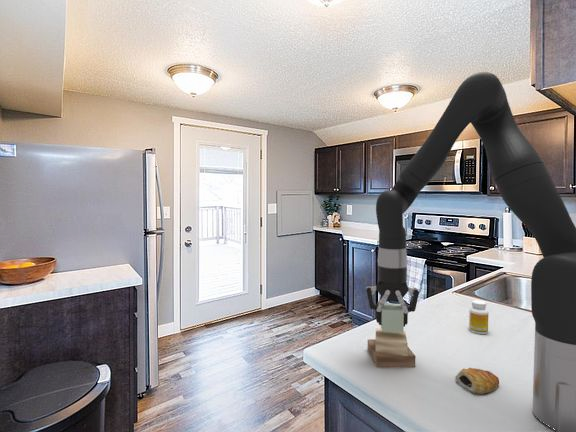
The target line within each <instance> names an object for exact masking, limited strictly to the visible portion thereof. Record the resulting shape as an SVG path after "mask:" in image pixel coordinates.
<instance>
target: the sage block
mask: <svg viewBox="0 0 576 432" xmlns="http://www.w3.org/2000/svg"><path fill="white" fill-rule="evenodd" d="M381 312H382V324H381V325H380V328H381V329H382V332H394V333H403V331H405V329H404V311H403V309H402V307H401V305H400V303H386V302H385V304H384V306H383V308H382V310H381Z"/></svg>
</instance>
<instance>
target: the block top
mask: <svg viewBox="0 0 576 432" xmlns="http://www.w3.org/2000/svg"><path fill="white" fill-rule="evenodd" d="M375 339H376V353H384V354H393V355H401V356H407V349H408V347H409V346H408V344H409V343H408V340H407V335H406V330H404V331H403V333H394V332H382V329H381V327H380V328H379V327H375Z"/></svg>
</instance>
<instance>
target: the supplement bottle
mask: <svg viewBox="0 0 576 432" xmlns="http://www.w3.org/2000/svg"><path fill="white" fill-rule="evenodd" d="M468 313H469V315H468V329H469V331H470V332H471V333H474V334H477V335H486V334H488V333H489V310H488V309H487V302H485V301H484V300H476V299H475V300H472V301H471V306H470V308H469V311H468Z"/></svg>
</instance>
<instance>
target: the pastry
mask: <svg viewBox="0 0 576 432" xmlns="http://www.w3.org/2000/svg"><path fill="white" fill-rule="evenodd" d="M454 377H455V380H456V382H457V384H458V385H460V386H461V387H463V388H465V389H466V390H468V391H469V392H471V393H474V394H478V395H485V394H486V393H487V394H489V393H491V392H493V391H494V390H496V389H497V388H498V387H499V385H500V379H499V377H498V376H497V375H495V374H494V373H493V372H492V371H490V370H484V369H481V368H473V367H468V368H462V369H461V370H460V371H459V372H458V373H457V374H456V375H455V376H454Z"/></svg>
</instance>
